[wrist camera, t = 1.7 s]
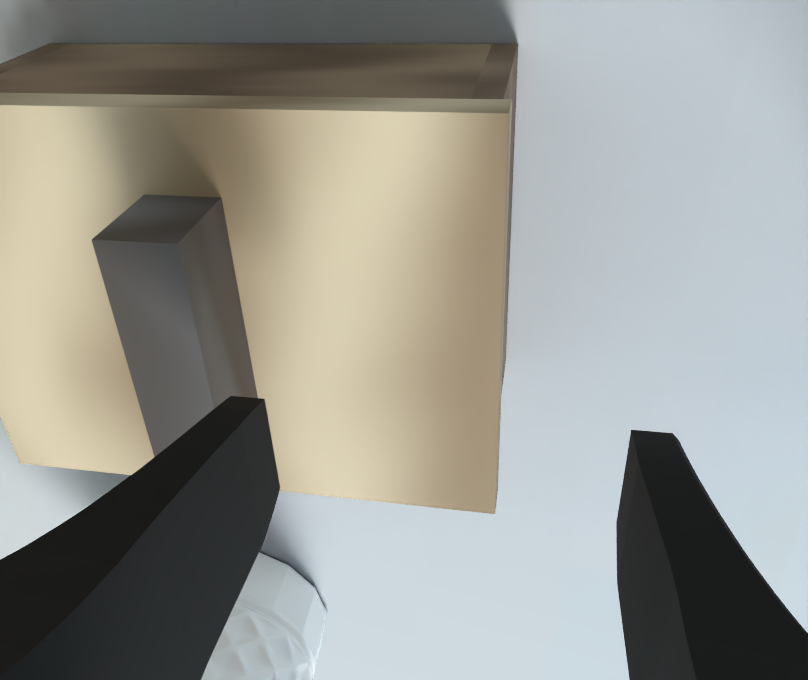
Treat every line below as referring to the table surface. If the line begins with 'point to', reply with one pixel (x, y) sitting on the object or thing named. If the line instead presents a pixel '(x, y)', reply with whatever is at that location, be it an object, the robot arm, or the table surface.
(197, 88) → the box
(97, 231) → the lid
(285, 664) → the white cup
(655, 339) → the table surface
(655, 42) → the table surface
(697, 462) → the table surface
